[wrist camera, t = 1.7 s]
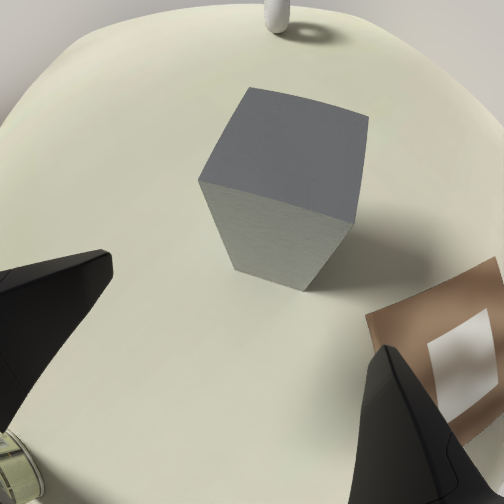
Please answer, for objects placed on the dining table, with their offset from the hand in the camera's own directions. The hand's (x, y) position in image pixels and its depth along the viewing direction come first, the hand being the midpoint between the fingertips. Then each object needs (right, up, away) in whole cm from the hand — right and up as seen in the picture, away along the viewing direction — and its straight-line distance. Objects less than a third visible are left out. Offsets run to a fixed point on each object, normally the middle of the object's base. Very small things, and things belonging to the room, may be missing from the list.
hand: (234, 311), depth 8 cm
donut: (+4, +38, +26) cm, 46 cm away
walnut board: (+19, -9, +9) cm, 23 cm away
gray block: (+3, +2, +14) cm, 14 cm away
